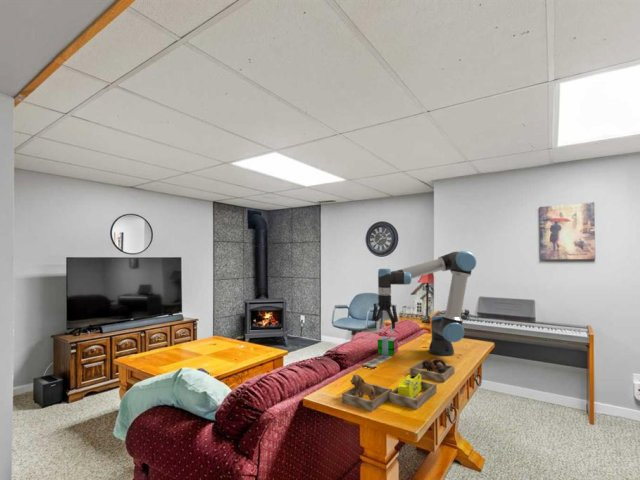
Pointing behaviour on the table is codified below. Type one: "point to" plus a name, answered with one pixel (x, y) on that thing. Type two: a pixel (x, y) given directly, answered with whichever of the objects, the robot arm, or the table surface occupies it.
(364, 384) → the lion figurine
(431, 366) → the pottery mug
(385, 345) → the blue-grey rounded peg
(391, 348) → the puzzle cube
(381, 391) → the figurine organizer frame
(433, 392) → the camera organizer frame
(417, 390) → the yellow toy chassis
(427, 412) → the table surface
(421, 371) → the frame
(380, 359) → the track
